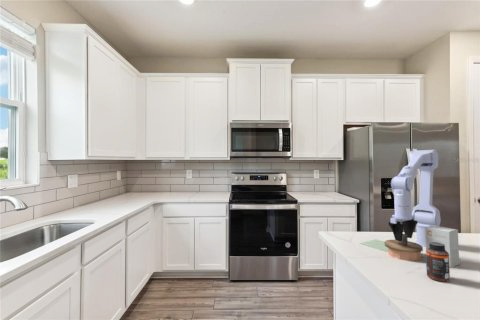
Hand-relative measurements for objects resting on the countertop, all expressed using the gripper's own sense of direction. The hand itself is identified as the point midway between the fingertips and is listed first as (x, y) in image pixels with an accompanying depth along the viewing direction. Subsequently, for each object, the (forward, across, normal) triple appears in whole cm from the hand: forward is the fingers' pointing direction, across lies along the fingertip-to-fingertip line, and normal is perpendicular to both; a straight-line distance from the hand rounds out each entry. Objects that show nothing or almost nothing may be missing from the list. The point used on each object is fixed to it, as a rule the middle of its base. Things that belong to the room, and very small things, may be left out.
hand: (403, 239), depth 100 cm
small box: (+7, -6, +11) cm, 14 cm away
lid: (+4, 0, 0) cm, 4 cm away
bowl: (+7, 0, 0) cm, 7 cm away
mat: (+7, -5, -12) cm, 15 cm away
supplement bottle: (+7, +11, +16) cm, 21 cm away
